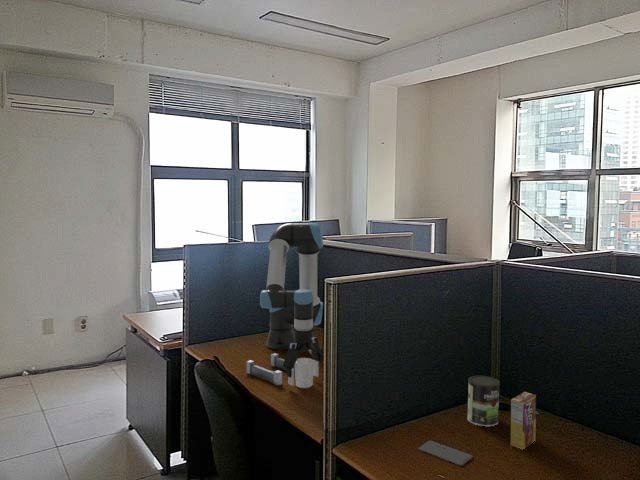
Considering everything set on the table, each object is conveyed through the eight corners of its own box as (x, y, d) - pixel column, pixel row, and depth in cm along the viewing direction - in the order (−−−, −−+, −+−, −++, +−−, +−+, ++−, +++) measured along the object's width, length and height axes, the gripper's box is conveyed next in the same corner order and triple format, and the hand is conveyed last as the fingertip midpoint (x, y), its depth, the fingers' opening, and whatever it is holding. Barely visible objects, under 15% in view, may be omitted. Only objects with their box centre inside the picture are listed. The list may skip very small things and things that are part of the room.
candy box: (522, 437, 167) (524, 391, 165) (535, 442, 163) (537, 394, 162) (509, 446, 160) (510, 398, 159) (522, 451, 157) (524, 402, 156)
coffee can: (505, 423, 176) (506, 383, 175) (481, 429, 172) (482, 388, 171) (483, 411, 186) (484, 373, 184) (460, 417, 181) (461, 377, 180)
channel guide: (275, 364, 236) (274, 353, 235) (306, 375, 221) (306, 363, 221) (246, 373, 224) (246, 361, 224) (277, 385, 210) (277, 373, 210)
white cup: (315, 381, 214) (315, 358, 213) (312, 389, 206) (312, 364, 206) (295, 381, 215) (295, 357, 214) (292, 388, 207) (292, 363, 206)
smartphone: (429, 439, 164) (474, 455, 154) (429, 442, 164) (474, 458, 154) (416, 448, 159) (461, 465, 148) (416, 451, 159) (461, 468, 148)
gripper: (318, 321, 220) (318, 370, 222) (273, 332, 203) (273, 385, 205) (331, 324, 215) (331, 374, 217) (286, 336, 197) (286, 390, 199)
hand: (303, 380), depth 211 cm, fingers open, 13 cm apart
